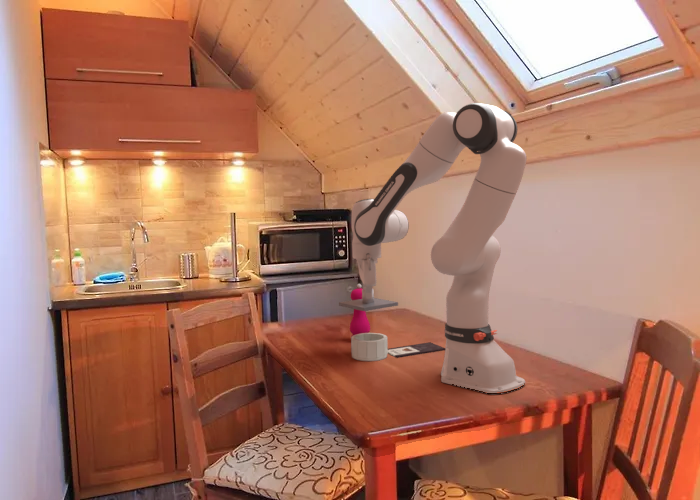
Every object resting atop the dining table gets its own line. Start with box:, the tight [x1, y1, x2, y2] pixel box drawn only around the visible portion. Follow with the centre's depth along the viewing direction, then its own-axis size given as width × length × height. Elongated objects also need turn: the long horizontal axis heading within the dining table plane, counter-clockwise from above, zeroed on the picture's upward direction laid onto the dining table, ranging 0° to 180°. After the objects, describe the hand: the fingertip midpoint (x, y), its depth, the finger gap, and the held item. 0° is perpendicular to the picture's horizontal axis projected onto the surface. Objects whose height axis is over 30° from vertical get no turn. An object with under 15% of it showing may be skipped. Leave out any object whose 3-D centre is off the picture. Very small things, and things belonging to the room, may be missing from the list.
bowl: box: [350, 332, 389, 362], centre depth 163 cm, size 11×11×6 cm
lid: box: [338, 288, 399, 312], centre depth 162 cm, size 13×13×5 cm
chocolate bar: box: [387, 341, 446, 359], centre depth 169 cm, size 9×1×18 cm
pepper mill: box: [349, 283, 371, 338], centre depth 182 cm, size 7×7×20 cm
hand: (368, 297), depth 162 cm, fingers closed on lid, 4 cm apart
